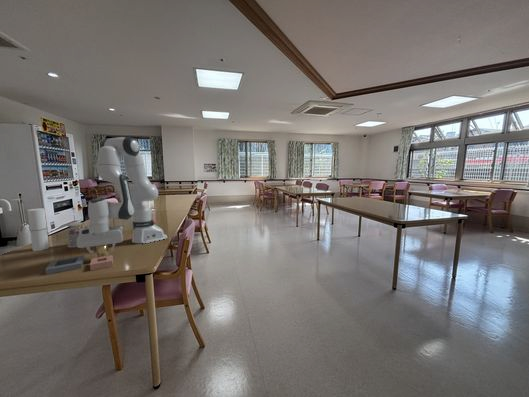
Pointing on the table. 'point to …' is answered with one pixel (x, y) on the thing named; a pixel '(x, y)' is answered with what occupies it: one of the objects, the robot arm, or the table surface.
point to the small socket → (101, 262)
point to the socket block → (75, 264)
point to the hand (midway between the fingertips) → (102, 252)
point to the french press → (73, 233)
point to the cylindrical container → (38, 229)
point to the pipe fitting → (102, 250)
